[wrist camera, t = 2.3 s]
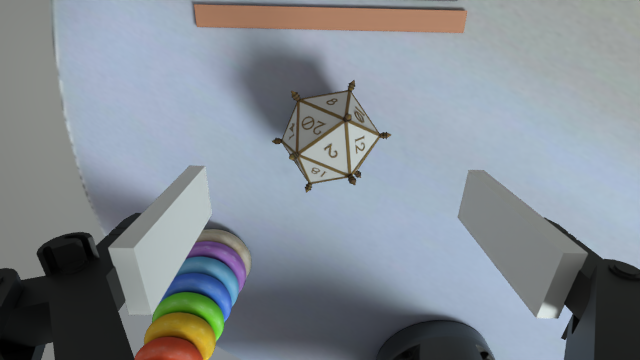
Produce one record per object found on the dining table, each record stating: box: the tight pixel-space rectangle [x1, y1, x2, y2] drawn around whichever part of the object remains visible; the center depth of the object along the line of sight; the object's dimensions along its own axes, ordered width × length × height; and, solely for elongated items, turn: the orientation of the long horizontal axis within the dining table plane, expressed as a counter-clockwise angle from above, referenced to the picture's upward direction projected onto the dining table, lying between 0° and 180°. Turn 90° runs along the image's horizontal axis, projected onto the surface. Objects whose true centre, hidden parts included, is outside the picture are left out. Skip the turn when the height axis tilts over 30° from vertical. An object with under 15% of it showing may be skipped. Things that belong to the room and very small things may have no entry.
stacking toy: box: [134, 229, 251, 360], centre depth 27 cm, size 8×8×19 cm
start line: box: [194, 4, 467, 33], centre depth 26 cm, size 2×22×1 cm, turn 89°
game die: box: [272, 81, 391, 192], centre depth 26 cm, size 9×8×10 cm
